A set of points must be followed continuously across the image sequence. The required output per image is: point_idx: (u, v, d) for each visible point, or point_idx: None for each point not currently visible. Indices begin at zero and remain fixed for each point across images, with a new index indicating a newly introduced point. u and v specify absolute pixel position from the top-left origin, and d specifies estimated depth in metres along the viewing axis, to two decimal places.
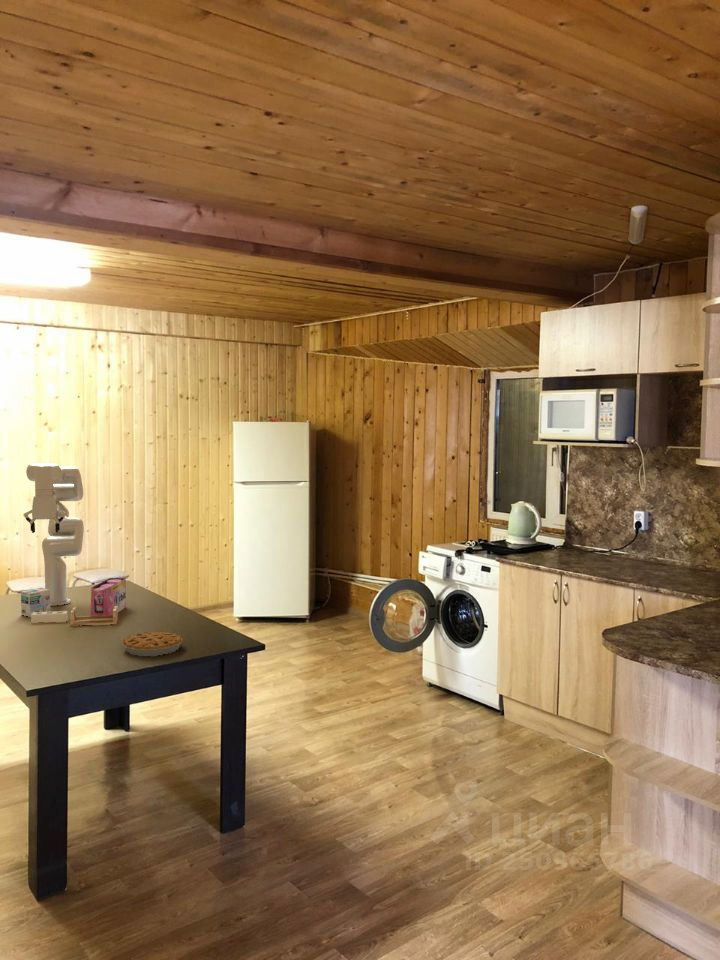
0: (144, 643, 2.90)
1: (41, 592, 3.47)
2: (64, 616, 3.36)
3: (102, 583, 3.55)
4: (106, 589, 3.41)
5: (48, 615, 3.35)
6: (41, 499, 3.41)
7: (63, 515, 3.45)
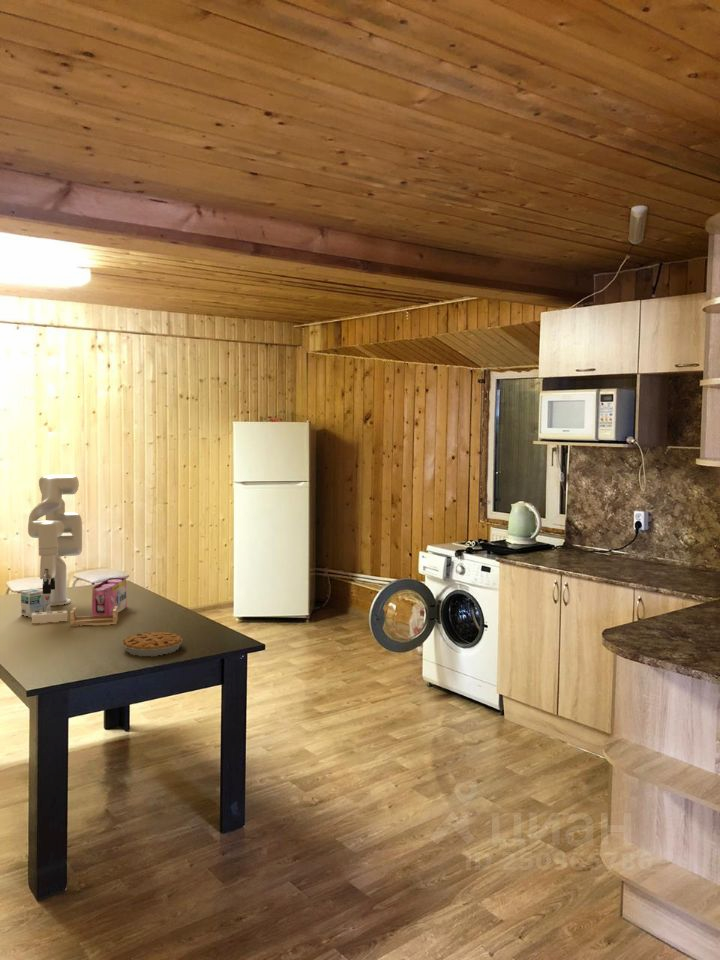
0: (144, 643, 2.90)
1: (41, 592, 3.47)
2: (65, 615, 3.37)
3: (103, 583, 3.55)
4: (107, 589, 3.42)
5: (49, 615, 3.35)
6: (54, 557, 3.35)
7: None
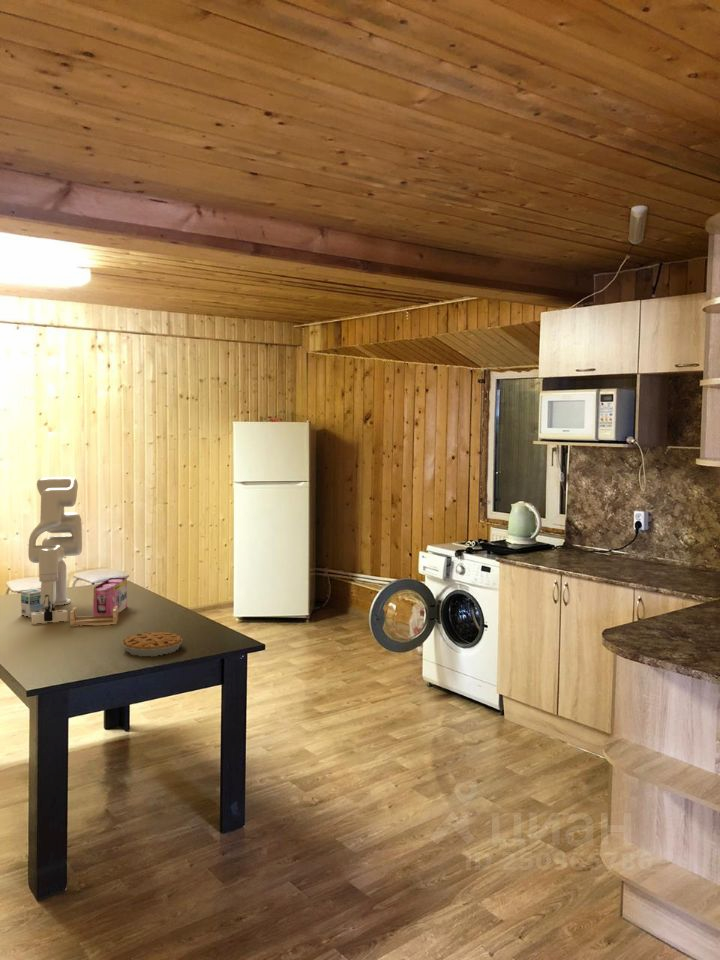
0: (144, 643, 2.90)
1: None
2: (65, 615, 3.37)
3: (104, 583, 3.55)
4: (109, 589, 3.42)
5: None
6: (54, 583, 3.35)
7: None
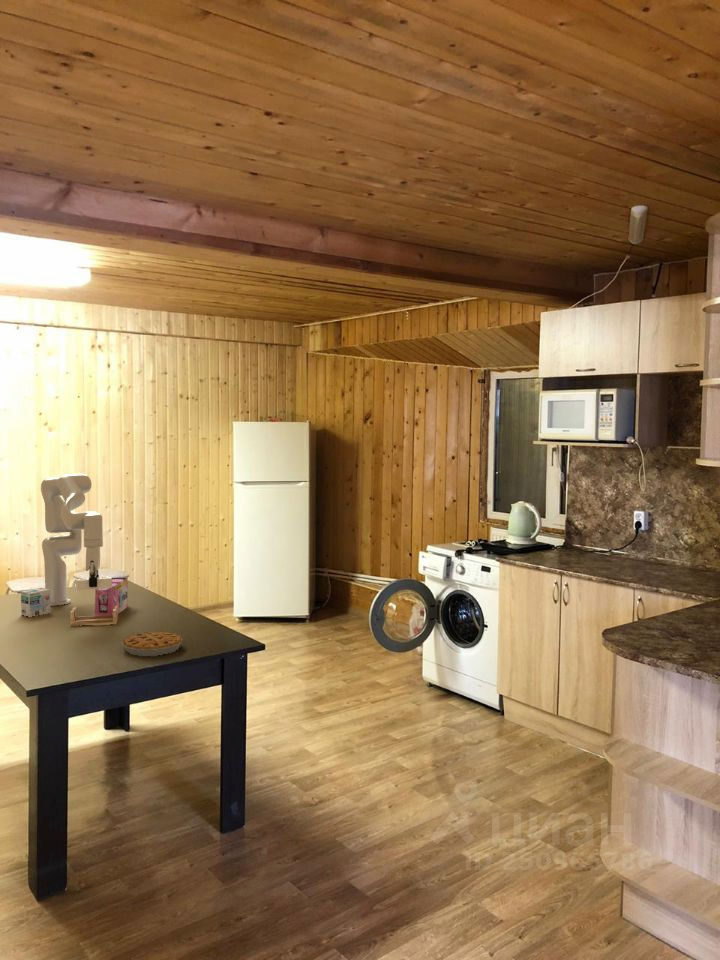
0: (144, 643, 2.90)
1: (41, 592, 3.47)
2: (110, 581, 3.34)
3: None
4: (110, 589, 3.42)
5: None
6: (99, 549, 3.33)
7: None
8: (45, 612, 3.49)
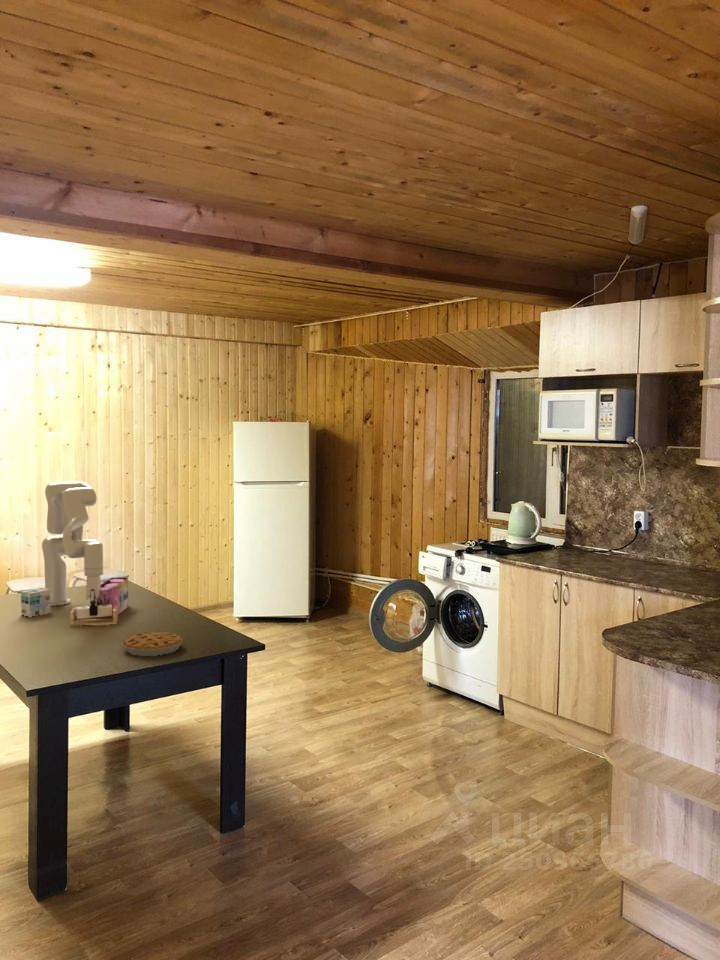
0: (144, 643, 2.90)
1: (41, 592, 3.47)
2: (110, 609, 3.35)
3: (105, 583, 3.55)
4: (112, 589, 3.42)
5: None
6: (99, 577, 3.33)
7: None
8: (45, 612, 3.49)
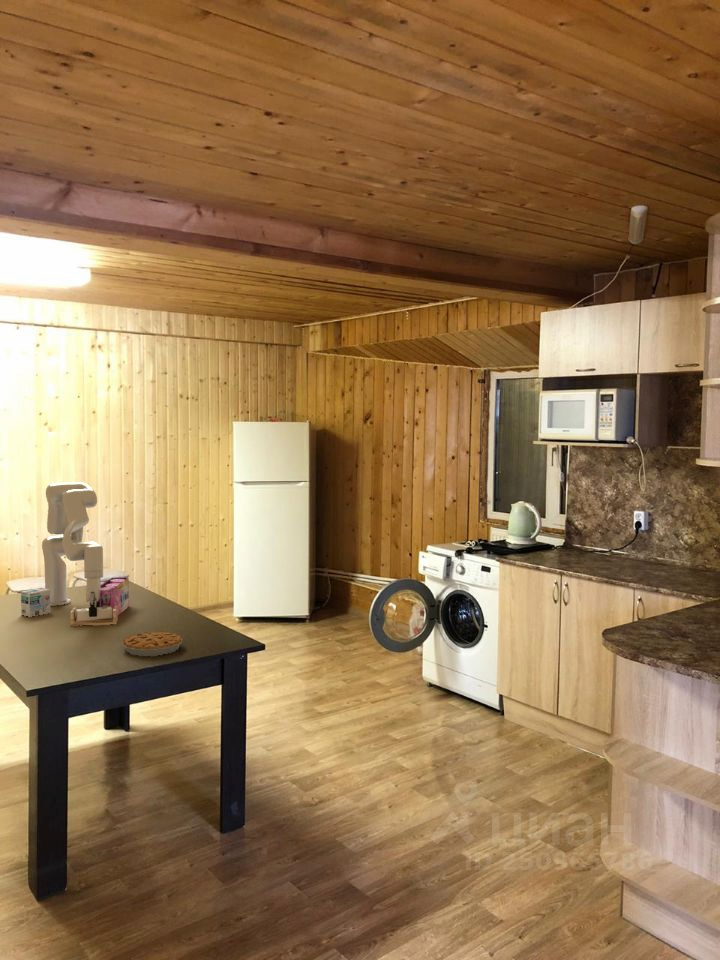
0: (144, 643, 2.90)
1: (41, 592, 3.47)
2: (110, 611, 3.35)
3: (106, 583, 3.56)
4: (113, 588, 3.43)
5: None
6: (100, 579, 3.33)
7: None
8: (45, 612, 3.49)
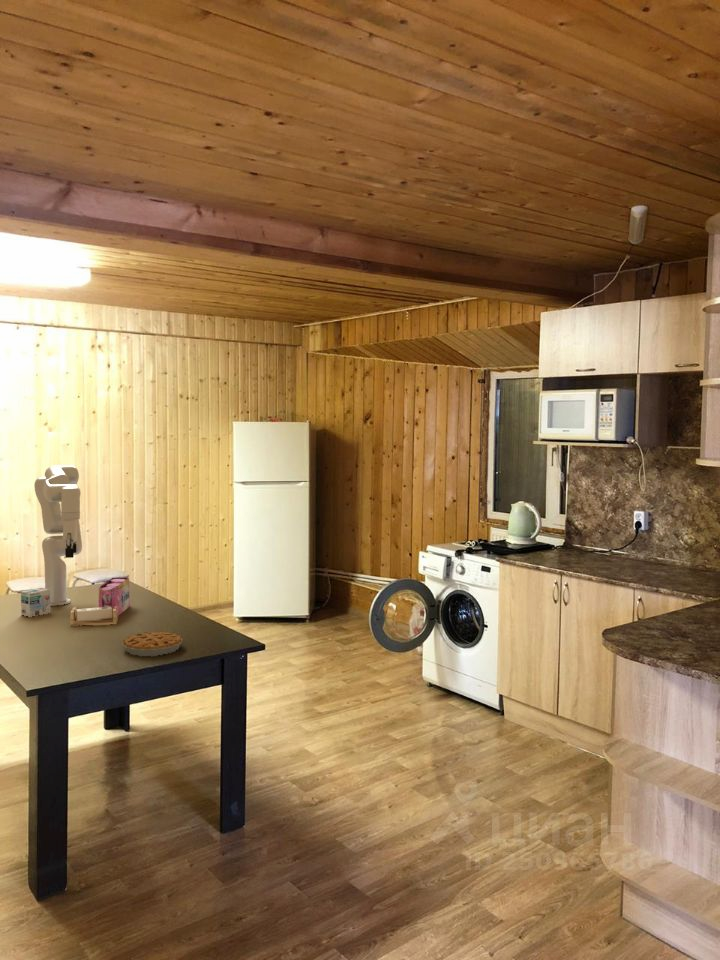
0: (144, 643, 2.90)
1: (41, 592, 3.47)
2: (110, 611, 3.35)
3: (107, 583, 3.56)
4: (114, 588, 3.43)
5: (94, 611, 3.33)
6: (76, 521, 3.38)
7: None
8: (45, 612, 3.49)
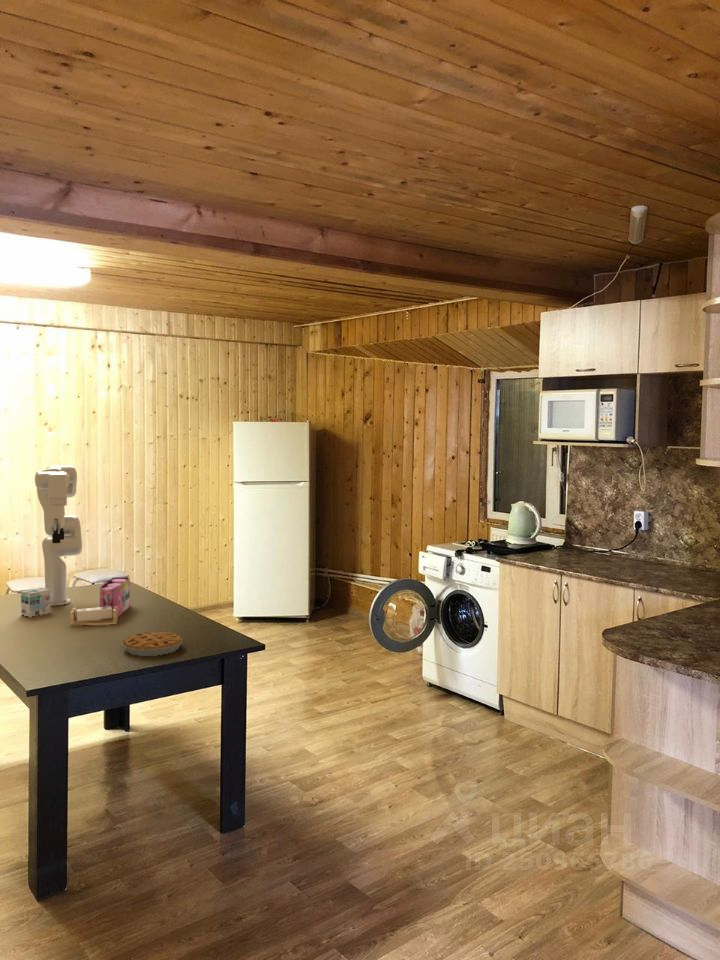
0: (144, 643, 2.90)
1: (41, 592, 3.47)
2: (110, 611, 3.35)
3: (108, 583, 3.56)
4: (115, 588, 3.43)
5: (94, 611, 3.33)
6: (63, 507, 3.41)
7: None
8: (45, 612, 3.49)
